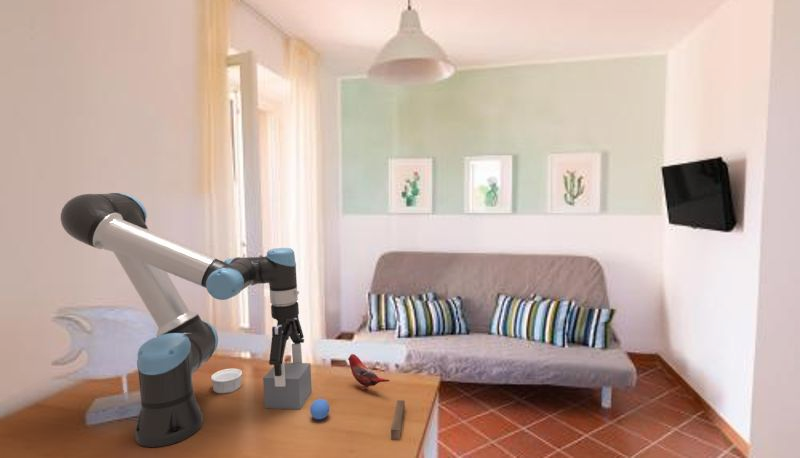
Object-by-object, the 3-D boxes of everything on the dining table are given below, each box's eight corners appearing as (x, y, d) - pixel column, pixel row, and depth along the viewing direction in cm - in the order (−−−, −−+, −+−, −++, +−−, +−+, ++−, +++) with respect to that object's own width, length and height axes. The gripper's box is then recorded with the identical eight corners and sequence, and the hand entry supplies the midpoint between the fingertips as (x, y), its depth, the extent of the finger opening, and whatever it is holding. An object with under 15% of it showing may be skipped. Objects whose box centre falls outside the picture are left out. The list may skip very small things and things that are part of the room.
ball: (308, 422, 109) (307, 404, 109) (314, 412, 114) (313, 395, 114) (326, 423, 109) (326, 405, 108) (331, 413, 114) (331, 395, 113)
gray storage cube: (264, 408, 117) (263, 377, 116) (279, 390, 127) (277, 362, 126) (300, 409, 116) (298, 378, 115) (311, 391, 126) (310, 363, 125)
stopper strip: (391, 439, 101) (390, 429, 101) (397, 408, 115) (397, 400, 115) (399, 439, 101) (399, 429, 101) (404, 409, 115) (404, 400, 115)
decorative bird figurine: (352, 381, 132) (351, 350, 131) (393, 399, 120) (392, 365, 119) (345, 384, 130) (344, 353, 129) (386, 403, 118) (386, 369, 117)
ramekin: (248, 382, 133) (247, 369, 133) (232, 395, 125) (231, 381, 124) (223, 380, 135) (222, 367, 135) (205, 393, 126) (204, 380, 126)
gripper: (280, 316, 106) (285, 396, 108) (311, 291, 131) (315, 357, 133) (251, 316, 107) (258, 396, 109) (288, 291, 131) (292, 357, 134)
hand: (289, 374), depth 121 cm, fingers open, 13 cm apart
